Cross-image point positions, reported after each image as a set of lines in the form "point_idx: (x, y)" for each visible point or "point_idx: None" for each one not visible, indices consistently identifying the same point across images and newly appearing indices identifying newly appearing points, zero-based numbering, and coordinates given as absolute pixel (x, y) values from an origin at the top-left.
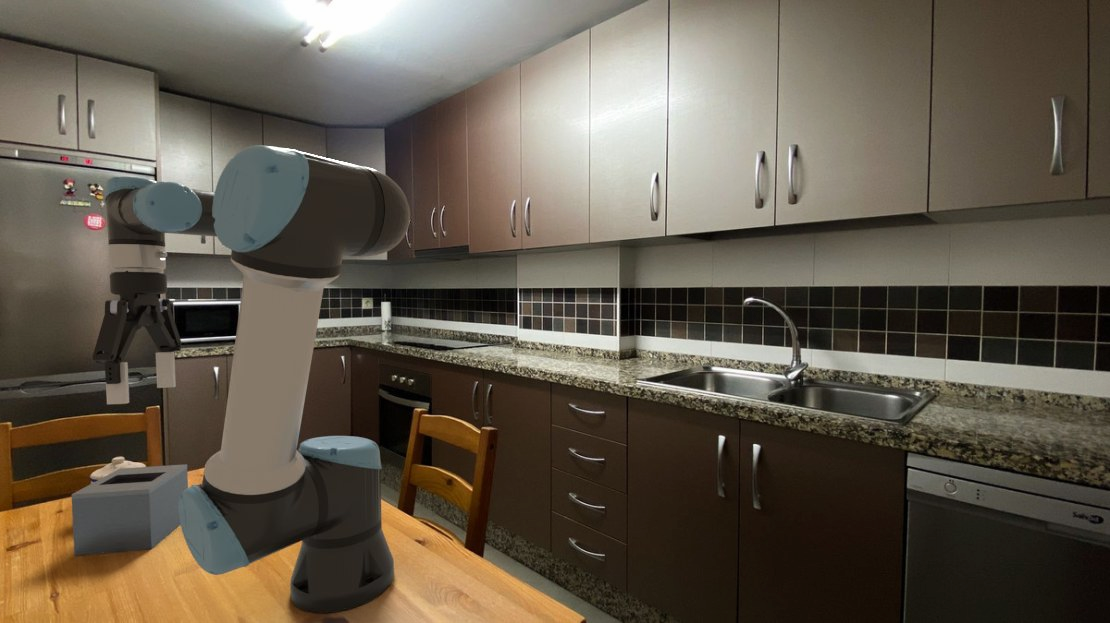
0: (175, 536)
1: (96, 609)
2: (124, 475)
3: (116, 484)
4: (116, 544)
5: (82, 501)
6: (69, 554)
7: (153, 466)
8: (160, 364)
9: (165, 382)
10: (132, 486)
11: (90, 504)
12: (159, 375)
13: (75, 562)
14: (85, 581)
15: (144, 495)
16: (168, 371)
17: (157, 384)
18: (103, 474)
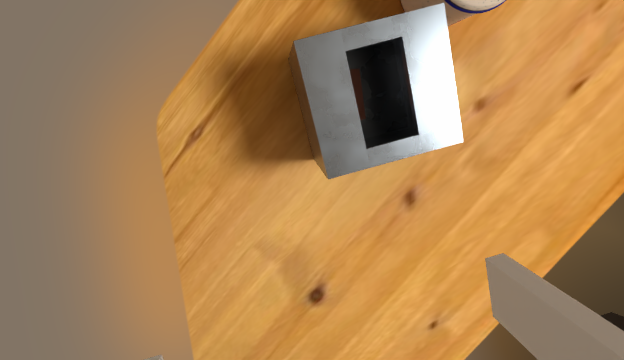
0: None
1: (177, 215)
2: (404, 52)
3: (349, 88)
4: (303, 115)
5: (297, 63)
6: None
7: (453, 75)
8: (588, 353)
9: (506, 302)
10: (339, 133)
11: (300, 78)
12: (529, 303)
13: (271, 79)
14: (228, 143)
15: (324, 168)
16: (551, 354)
17: (495, 268)
18: None
